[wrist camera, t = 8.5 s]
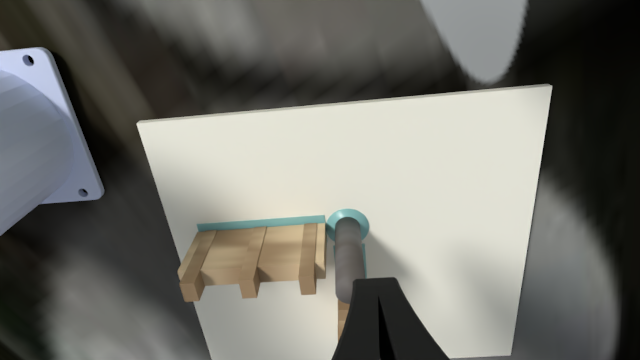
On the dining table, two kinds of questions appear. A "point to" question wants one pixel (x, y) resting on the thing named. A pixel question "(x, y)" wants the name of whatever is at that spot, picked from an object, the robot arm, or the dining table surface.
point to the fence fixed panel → (272, 258)
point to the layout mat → (364, 209)
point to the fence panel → (342, 316)
